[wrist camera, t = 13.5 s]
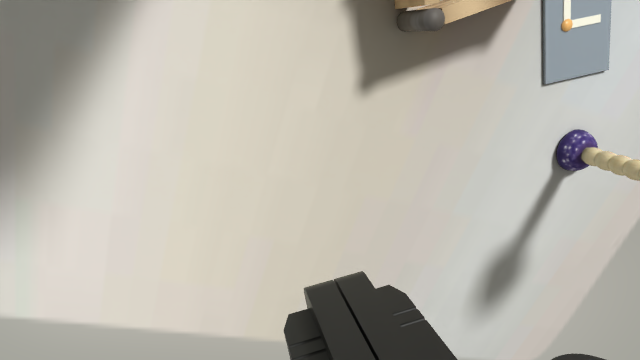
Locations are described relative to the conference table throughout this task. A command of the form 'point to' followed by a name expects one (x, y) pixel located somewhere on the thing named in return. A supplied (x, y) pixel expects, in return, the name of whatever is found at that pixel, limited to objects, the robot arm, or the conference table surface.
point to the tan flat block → (413, 3)
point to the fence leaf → (442, 14)
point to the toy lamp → (593, 156)
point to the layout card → (575, 38)
